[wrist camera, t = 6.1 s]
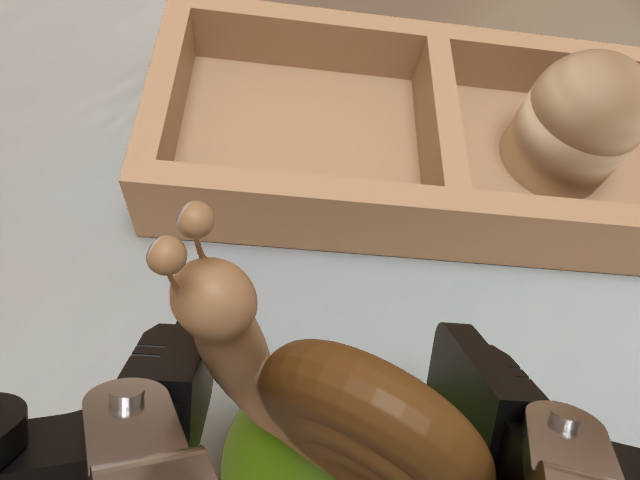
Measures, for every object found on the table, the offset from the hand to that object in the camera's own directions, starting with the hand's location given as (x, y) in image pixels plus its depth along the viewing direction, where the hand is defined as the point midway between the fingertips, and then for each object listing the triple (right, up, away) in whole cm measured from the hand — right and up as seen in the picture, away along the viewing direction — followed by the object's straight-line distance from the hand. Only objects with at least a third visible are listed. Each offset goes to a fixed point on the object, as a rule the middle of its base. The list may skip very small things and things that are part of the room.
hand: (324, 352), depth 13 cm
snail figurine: (-1, -5, +4) cm, 7 cm away
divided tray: (+4, +6, +11) cm, 14 cm away
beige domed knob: (+10, +6, +11) cm, 16 cm away
